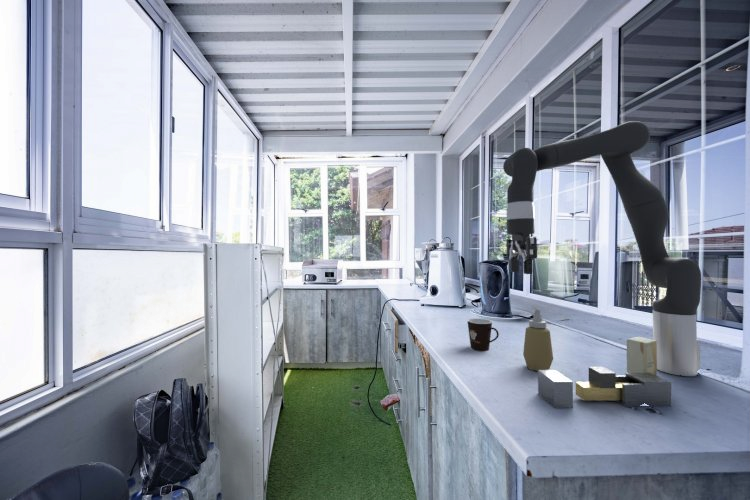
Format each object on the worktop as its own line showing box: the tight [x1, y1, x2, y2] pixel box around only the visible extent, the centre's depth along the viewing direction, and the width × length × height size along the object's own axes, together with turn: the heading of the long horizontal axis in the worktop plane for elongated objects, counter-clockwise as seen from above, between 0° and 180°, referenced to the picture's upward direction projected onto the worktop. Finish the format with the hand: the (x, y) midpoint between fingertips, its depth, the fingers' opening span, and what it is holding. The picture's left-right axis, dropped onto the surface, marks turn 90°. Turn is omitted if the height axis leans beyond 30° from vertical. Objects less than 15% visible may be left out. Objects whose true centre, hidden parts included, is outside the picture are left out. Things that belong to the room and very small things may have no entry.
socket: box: [537, 369, 574, 409], centre depth 73 cm, size 4×7×6 cm, turn 179°
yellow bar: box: [575, 366, 640, 401], centre depth 73 cm, size 18×4×6 cm, turn 89°
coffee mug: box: [466, 318, 500, 352], centre depth 111 cm, size 12×9×10 cm
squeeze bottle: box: [522, 308, 554, 372], centre depth 93 cm, size 8×8×18 cm
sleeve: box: [615, 372, 672, 407], centre depth 72 cm, size 10×5×6 cm, turn 89°
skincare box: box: [626, 336, 658, 376], centre depth 80 cm, size 6×4×12 cm
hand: (520, 272), depth 91 cm, fingers open, 8 cm apart
